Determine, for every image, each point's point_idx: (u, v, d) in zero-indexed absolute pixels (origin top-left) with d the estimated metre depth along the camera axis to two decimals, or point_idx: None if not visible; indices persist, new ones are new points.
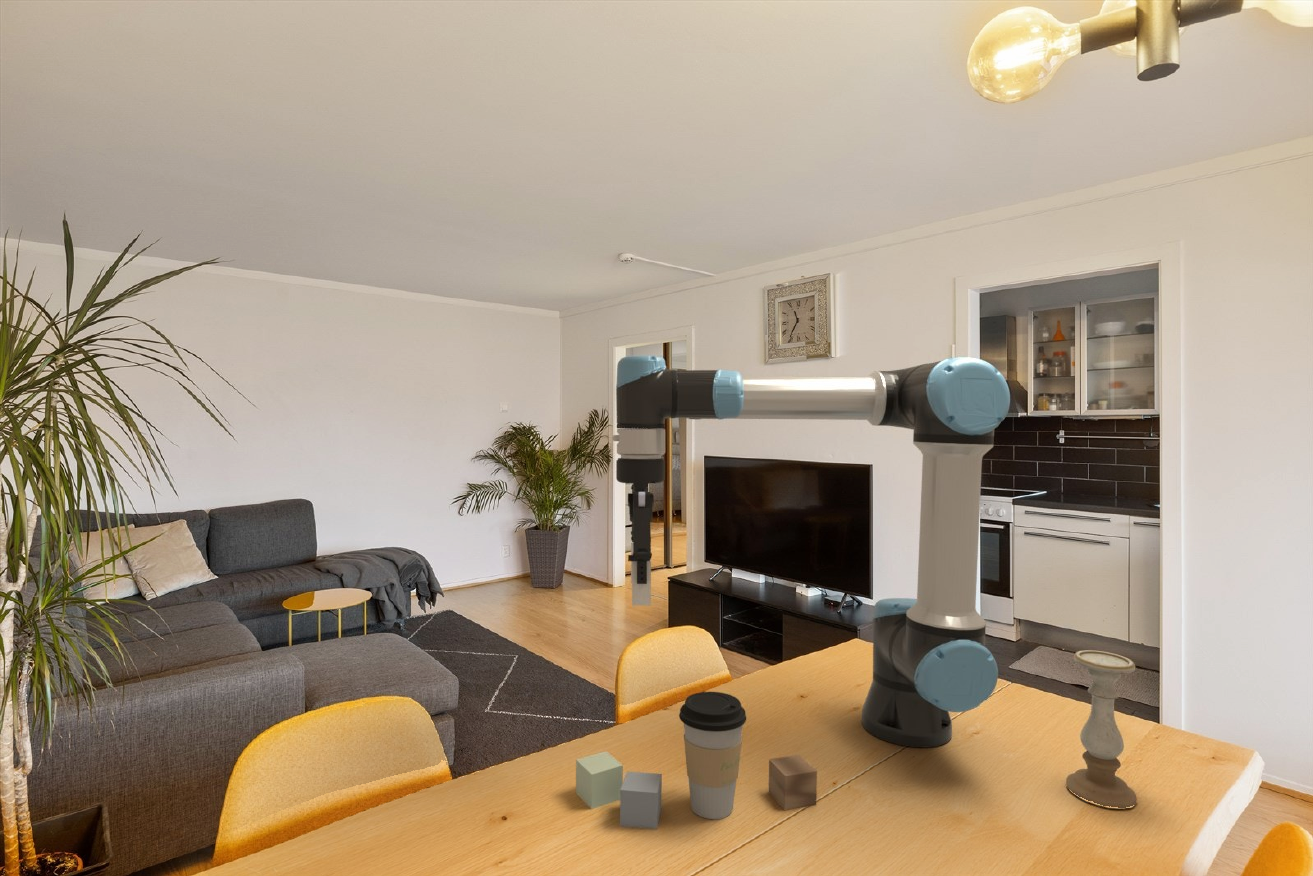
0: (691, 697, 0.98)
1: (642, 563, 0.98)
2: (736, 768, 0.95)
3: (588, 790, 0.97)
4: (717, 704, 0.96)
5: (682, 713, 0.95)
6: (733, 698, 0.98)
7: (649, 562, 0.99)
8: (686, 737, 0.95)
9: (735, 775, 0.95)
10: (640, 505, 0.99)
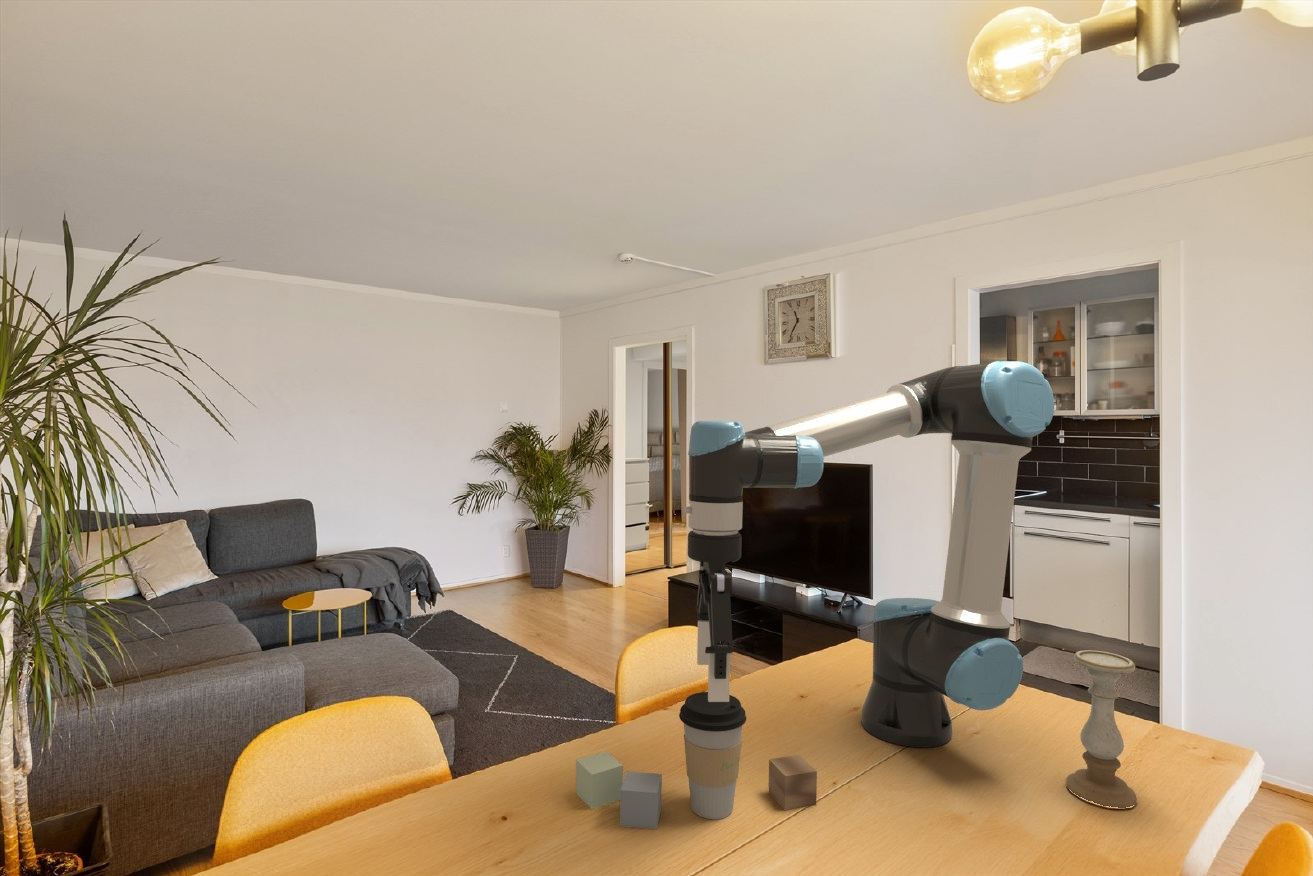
0: (691, 697, 0.98)
1: (721, 656, 0.88)
2: (736, 768, 0.95)
3: (588, 790, 0.97)
4: (717, 704, 0.96)
5: (682, 713, 0.95)
6: (733, 698, 0.98)
7: (728, 654, 0.89)
8: (686, 737, 0.95)
9: (735, 775, 0.95)
10: (719, 590, 0.89)
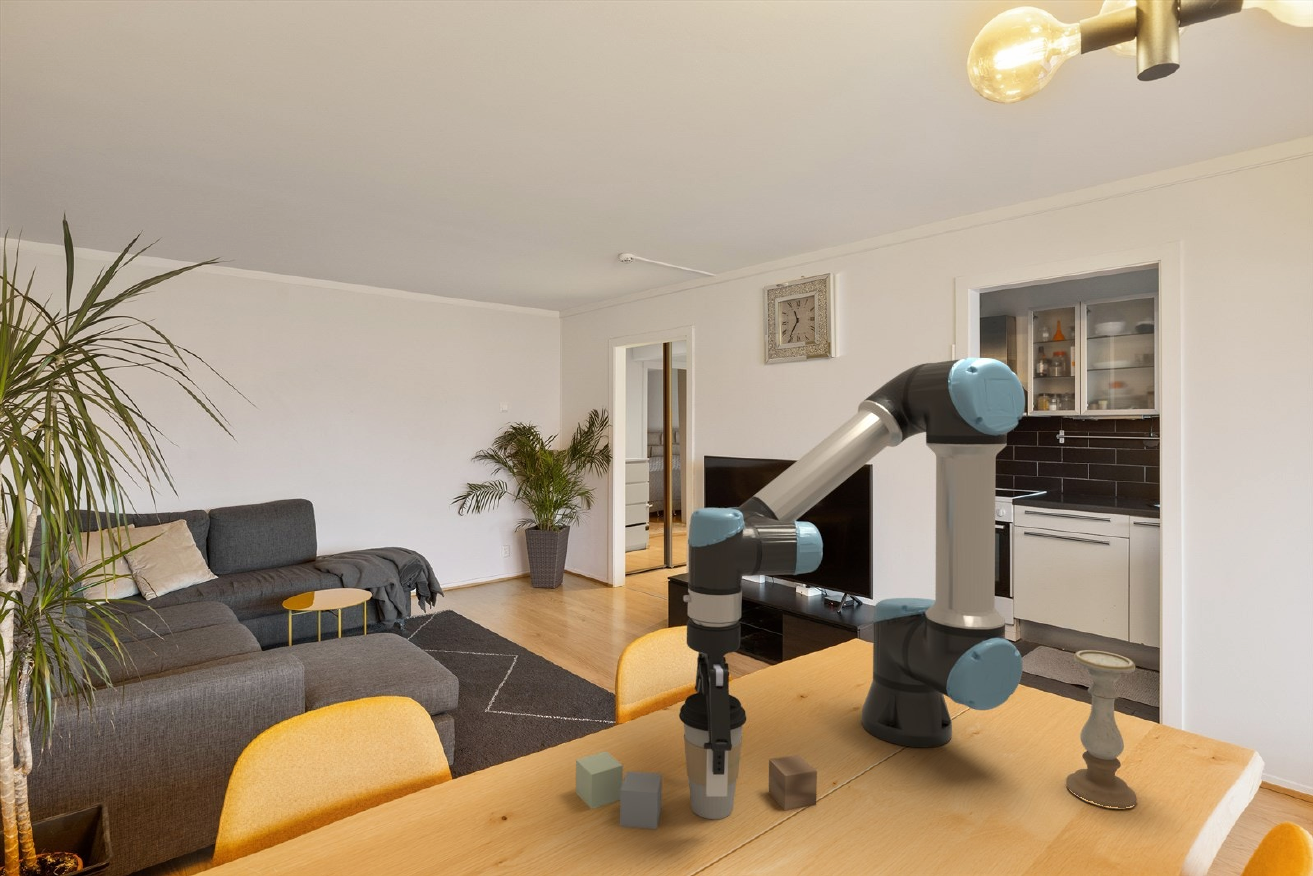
0: (691, 697, 0.98)
1: (720, 752, 0.88)
2: (736, 768, 0.95)
3: (588, 791, 0.97)
4: None
5: (682, 713, 0.95)
6: (733, 698, 0.98)
7: None
8: (686, 737, 0.95)
9: (735, 775, 0.95)
10: (717, 685, 0.90)
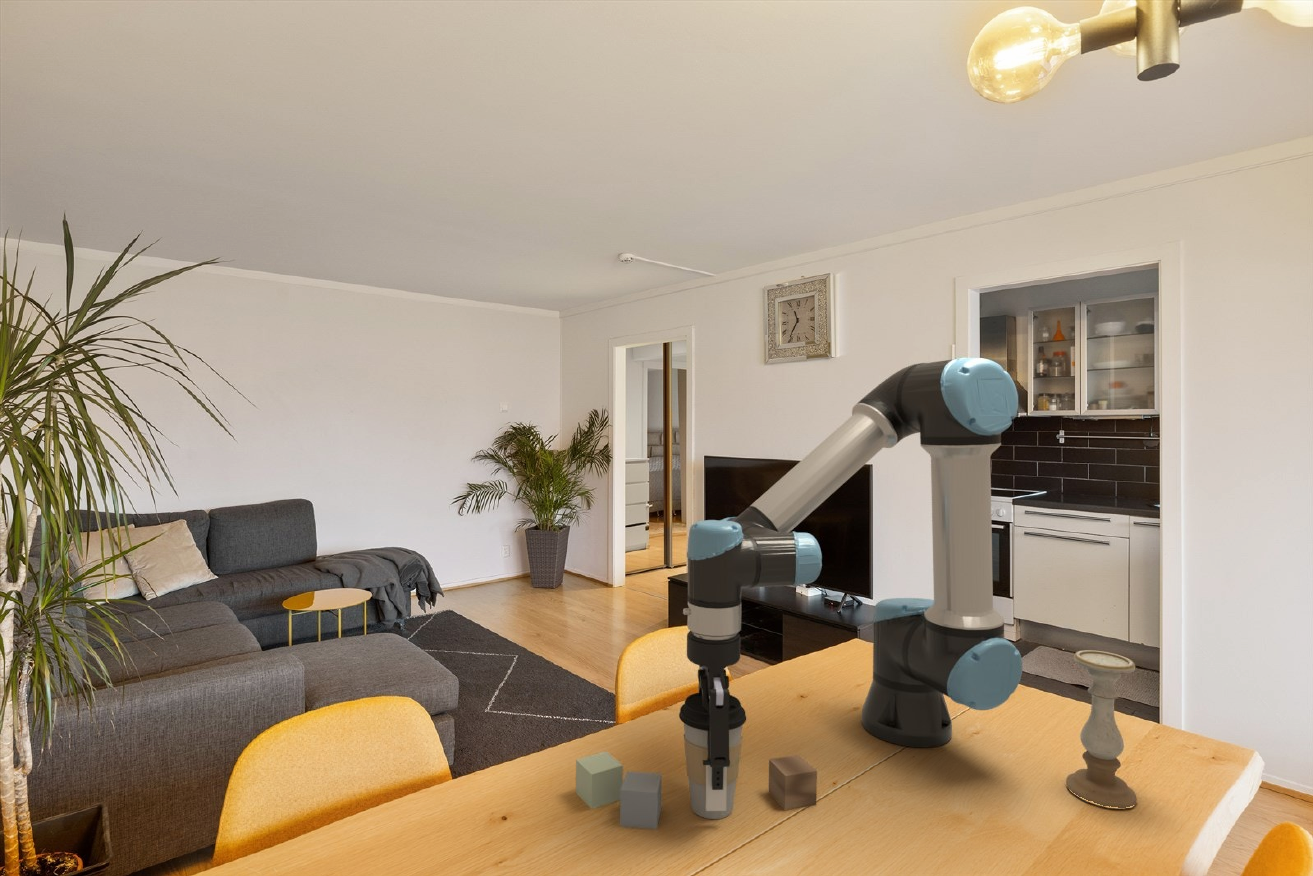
0: (691, 697, 0.98)
1: (718, 768, 0.91)
2: (736, 768, 0.95)
3: (588, 790, 0.97)
4: None
5: (682, 713, 0.96)
6: (733, 698, 0.98)
7: None
8: (686, 737, 0.95)
9: (735, 775, 0.95)
10: (717, 705, 0.90)
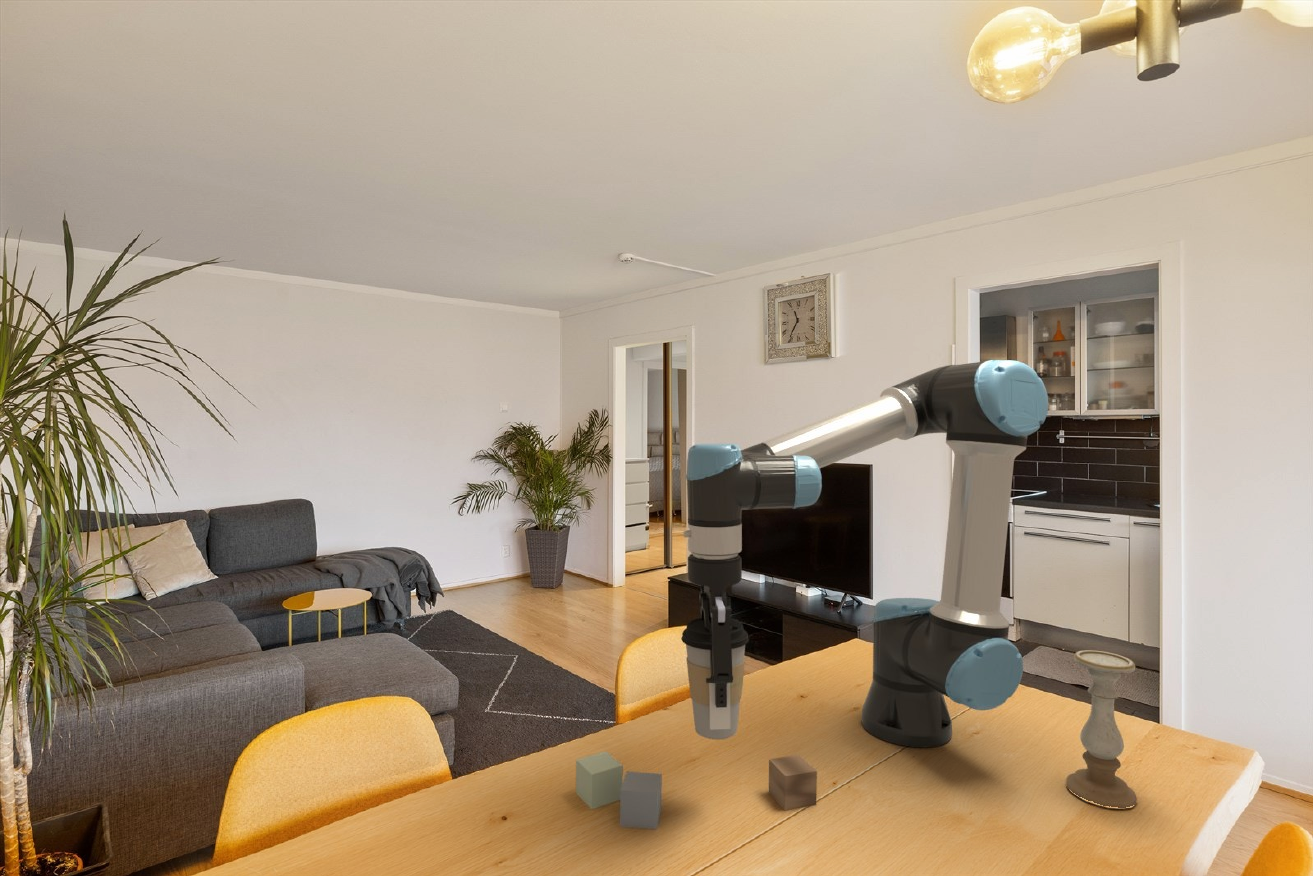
0: (693, 621, 0.98)
1: (722, 685, 0.90)
2: (739, 688, 0.95)
3: (588, 791, 0.97)
4: None
5: (684, 635, 0.95)
6: (735, 621, 0.98)
7: (728, 682, 0.92)
8: (689, 659, 0.95)
9: (738, 696, 0.95)
10: (719, 622, 0.90)
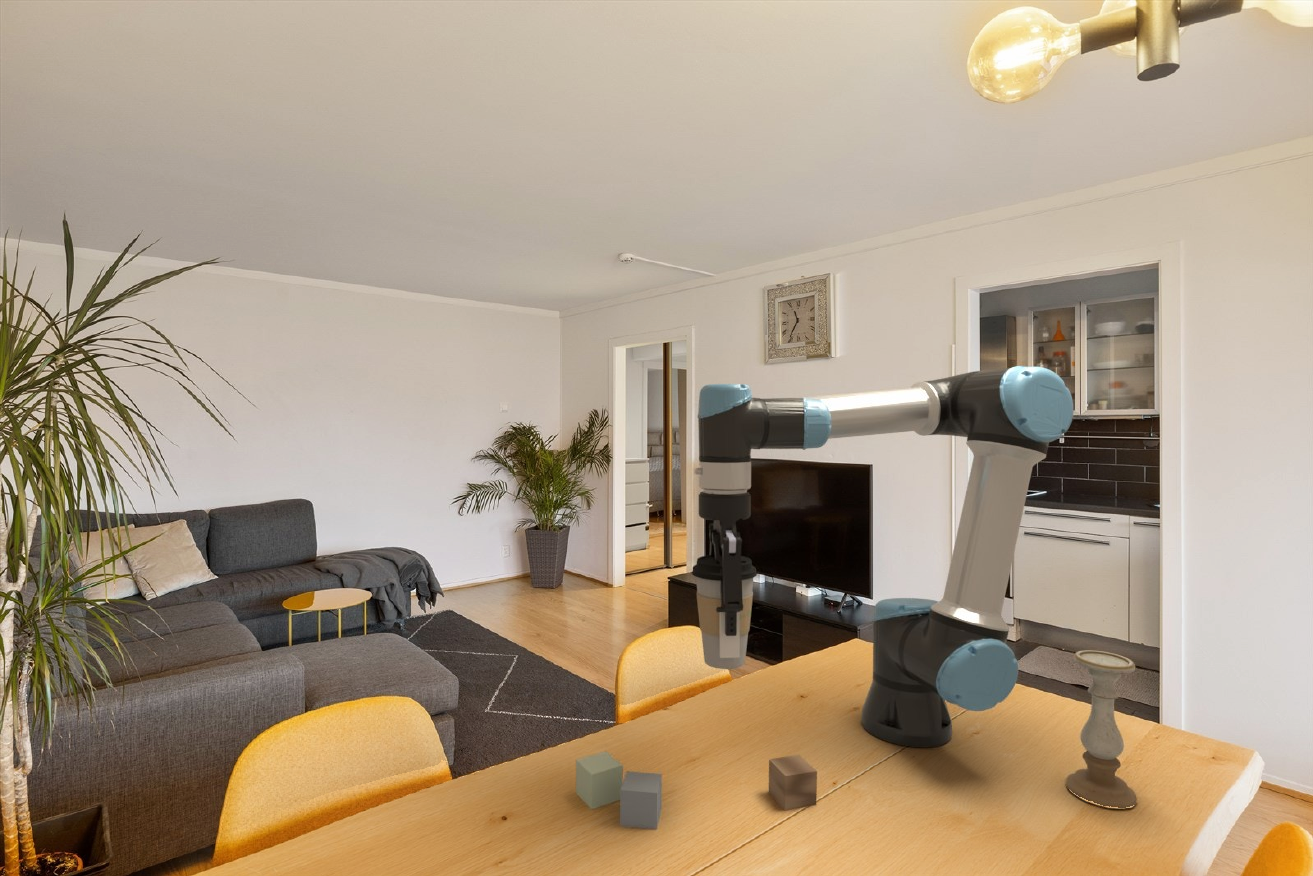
0: (703, 557, 1.01)
1: (732, 614, 0.94)
2: (748, 620, 0.98)
3: (588, 791, 0.97)
4: None
5: (695, 569, 0.98)
6: (743, 557, 1.01)
7: (738, 612, 0.95)
8: (699, 592, 0.98)
9: (747, 627, 0.98)
10: (730, 552, 0.93)
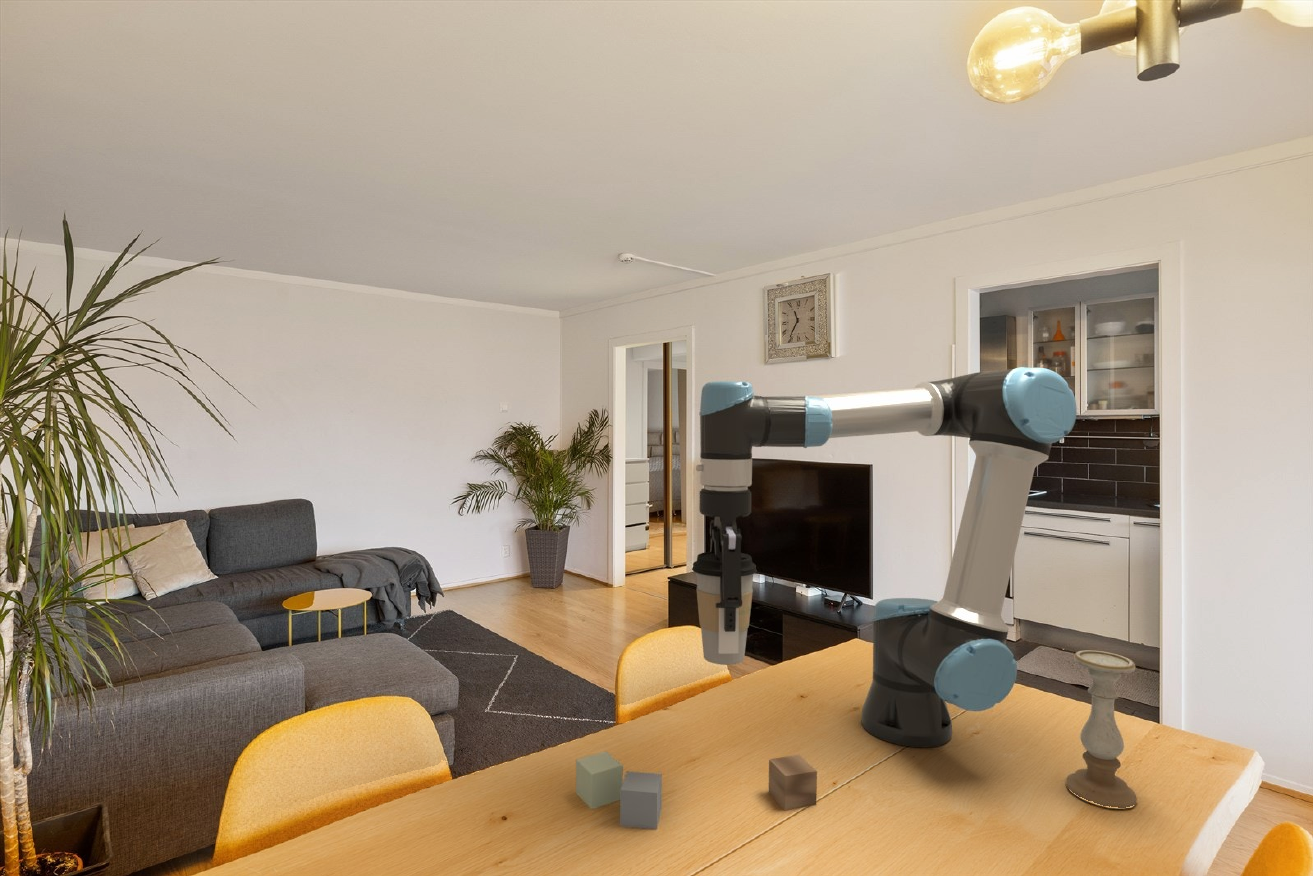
0: (703, 554, 1.02)
1: (731, 610, 0.94)
2: (747, 617, 0.98)
3: (588, 790, 0.97)
4: None
5: (695, 565, 0.99)
6: (744, 554, 1.02)
7: (737, 609, 0.96)
8: (699, 588, 0.99)
9: (746, 624, 0.98)
10: (730, 548, 0.94)
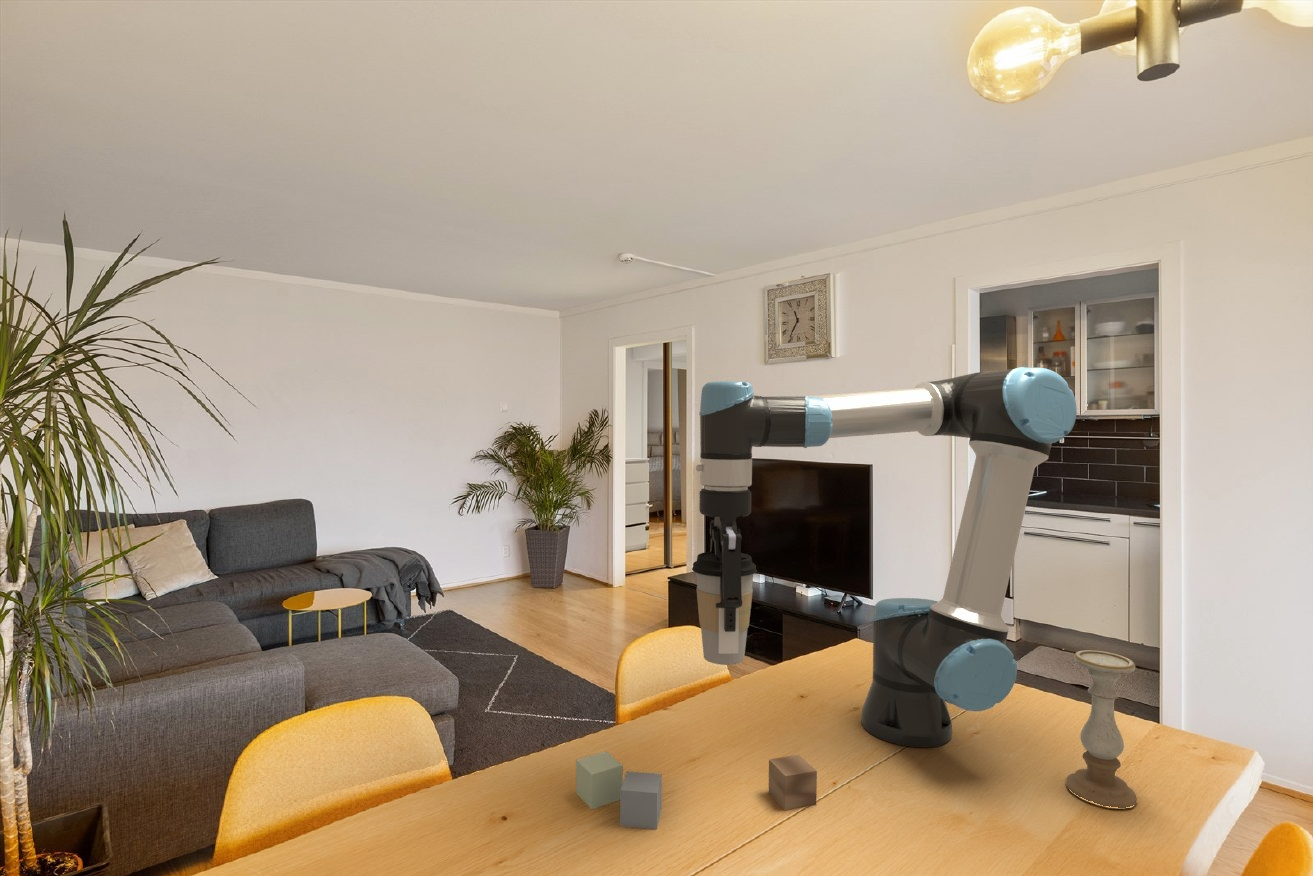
0: (703, 554, 1.02)
1: (731, 610, 0.94)
2: (747, 617, 0.98)
3: (588, 791, 0.97)
4: None
5: (695, 565, 0.99)
6: (744, 554, 1.02)
7: (737, 609, 0.96)
8: (699, 588, 0.99)
9: (746, 624, 0.98)
10: (730, 548, 0.94)
